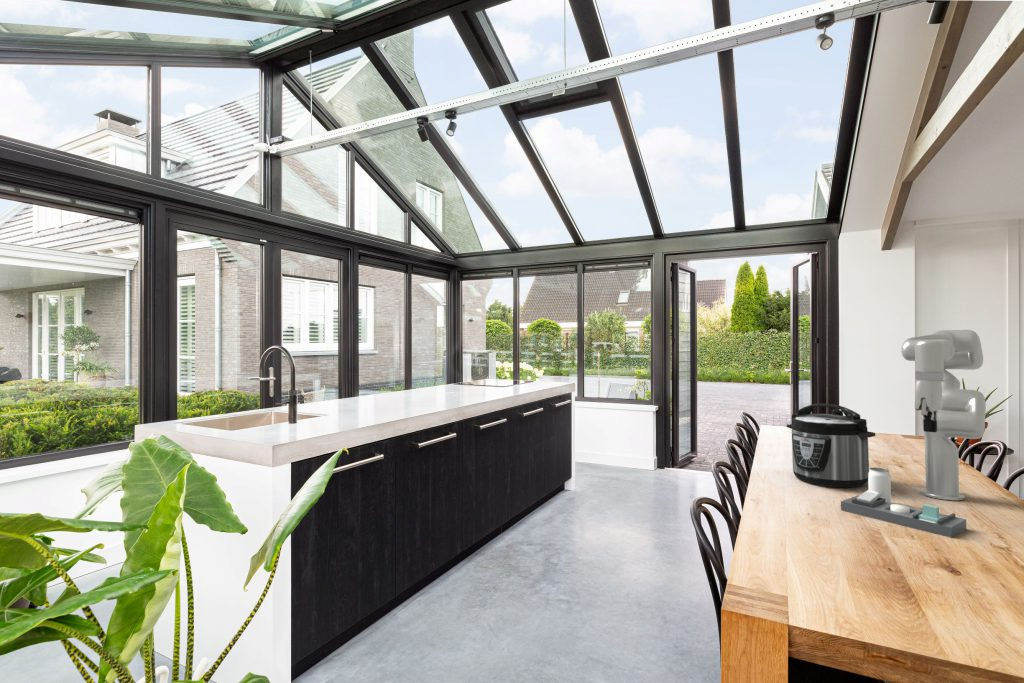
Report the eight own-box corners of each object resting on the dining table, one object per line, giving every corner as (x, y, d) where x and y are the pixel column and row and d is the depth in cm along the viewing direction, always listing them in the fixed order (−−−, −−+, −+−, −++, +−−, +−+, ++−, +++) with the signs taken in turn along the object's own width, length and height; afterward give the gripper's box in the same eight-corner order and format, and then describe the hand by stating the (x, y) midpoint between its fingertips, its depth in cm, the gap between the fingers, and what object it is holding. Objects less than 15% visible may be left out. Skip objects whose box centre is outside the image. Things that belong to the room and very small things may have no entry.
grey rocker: (867, 493, 178) (867, 489, 178) (880, 496, 174) (880, 492, 174) (856, 501, 174) (856, 497, 173) (870, 504, 170) (869, 500, 170)
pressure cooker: (776, 471, 228) (775, 400, 228) (841, 471, 227) (840, 399, 227) (812, 491, 198) (811, 408, 198) (888, 491, 197) (886, 408, 197)
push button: (894, 515, 170) (894, 503, 170) (912, 519, 166) (912, 507, 166) (887, 518, 167) (887, 506, 167) (905, 522, 163) (905, 510, 163)
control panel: (857, 503, 182) (857, 492, 182) (966, 529, 157) (966, 515, 157) (840, 510, 176) (840, 497, 176) (951, 537, 150) (951, 523, 150)
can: (894, 506, 179) (894, 472, 179) (874, 505, 180) (873, 471, 180) (885, 500, 185) (884, 467, 185) (865, 500, 186) (864, 466, 186)
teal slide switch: (923, 515, 160) (923, 502, 160) (943, 519, 156) (942, 506, 156) (918, 518, 158) (918, 505, 158) (937, 522, 154) (937, 509, 154)
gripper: (924, 375, 180) (925, 427, 180) (906, 377, 172) (907, 432, 172) (952, 376, 173) (952, 430, 173) (934, 378, 165) (935, 435, 165)
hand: (930, 431), depth 172 cm, fingers closed
